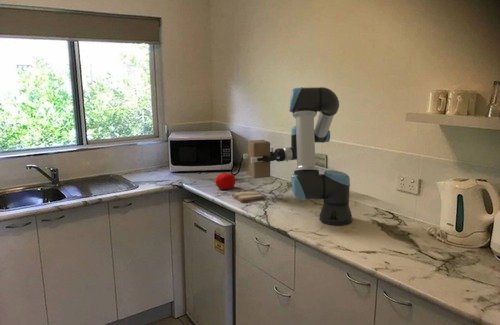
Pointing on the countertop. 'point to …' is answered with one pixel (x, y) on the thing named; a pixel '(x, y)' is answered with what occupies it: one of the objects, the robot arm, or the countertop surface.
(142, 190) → the countertop surface
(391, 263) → the countertop surface
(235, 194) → the trivet
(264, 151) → the block
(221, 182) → the tomato
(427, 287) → the countertop surface
